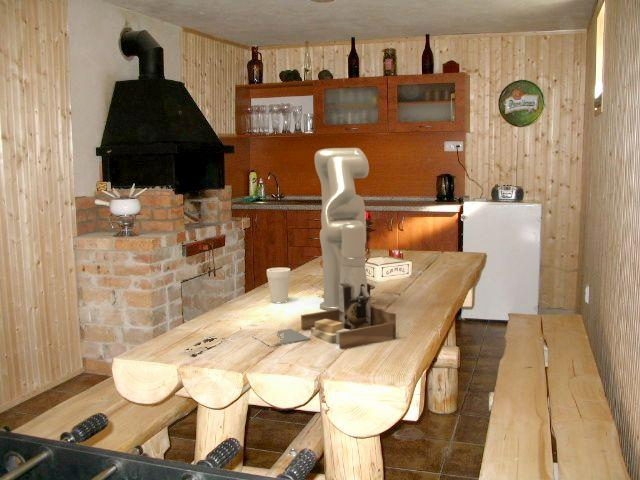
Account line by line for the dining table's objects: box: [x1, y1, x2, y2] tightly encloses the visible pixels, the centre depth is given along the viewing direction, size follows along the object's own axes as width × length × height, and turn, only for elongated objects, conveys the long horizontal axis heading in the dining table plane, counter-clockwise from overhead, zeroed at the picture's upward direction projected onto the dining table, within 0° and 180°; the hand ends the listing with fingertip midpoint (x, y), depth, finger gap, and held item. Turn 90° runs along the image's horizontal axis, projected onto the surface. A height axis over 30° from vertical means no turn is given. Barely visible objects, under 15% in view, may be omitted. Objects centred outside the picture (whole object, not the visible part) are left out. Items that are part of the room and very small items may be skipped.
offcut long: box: [310, 327, 336, 344], centre depth 208 cm, size 12×6×3 cm, turn 33°
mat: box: [253, 328, 311, 346], centre depth 209 cm, size 14×14×1 cm
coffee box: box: [339, 283, 371, 330], centre depth 212 cm, size 9×6×16 cm
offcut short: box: [315, 319, 344, 334], centre depth 208 cm, size 8×5×2 cm, turn 45°
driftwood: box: [185, 336, 217, 356], centre depth 203 cm, size 21×7×2 cm, turn 156°
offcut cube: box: [335, 329, 348, 345], centre depth 201 cm, size 4×4×4 cm
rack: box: [300, 304, 397, 350], centre depth 211 cm, size 26×20×8 cm
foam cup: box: [266, 267, 291, 303], centre depth 259 cm, size 10×9×13 cm
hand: (354, 314), depth 212 cm, fingers closed on coffee box, 7 cm apart
